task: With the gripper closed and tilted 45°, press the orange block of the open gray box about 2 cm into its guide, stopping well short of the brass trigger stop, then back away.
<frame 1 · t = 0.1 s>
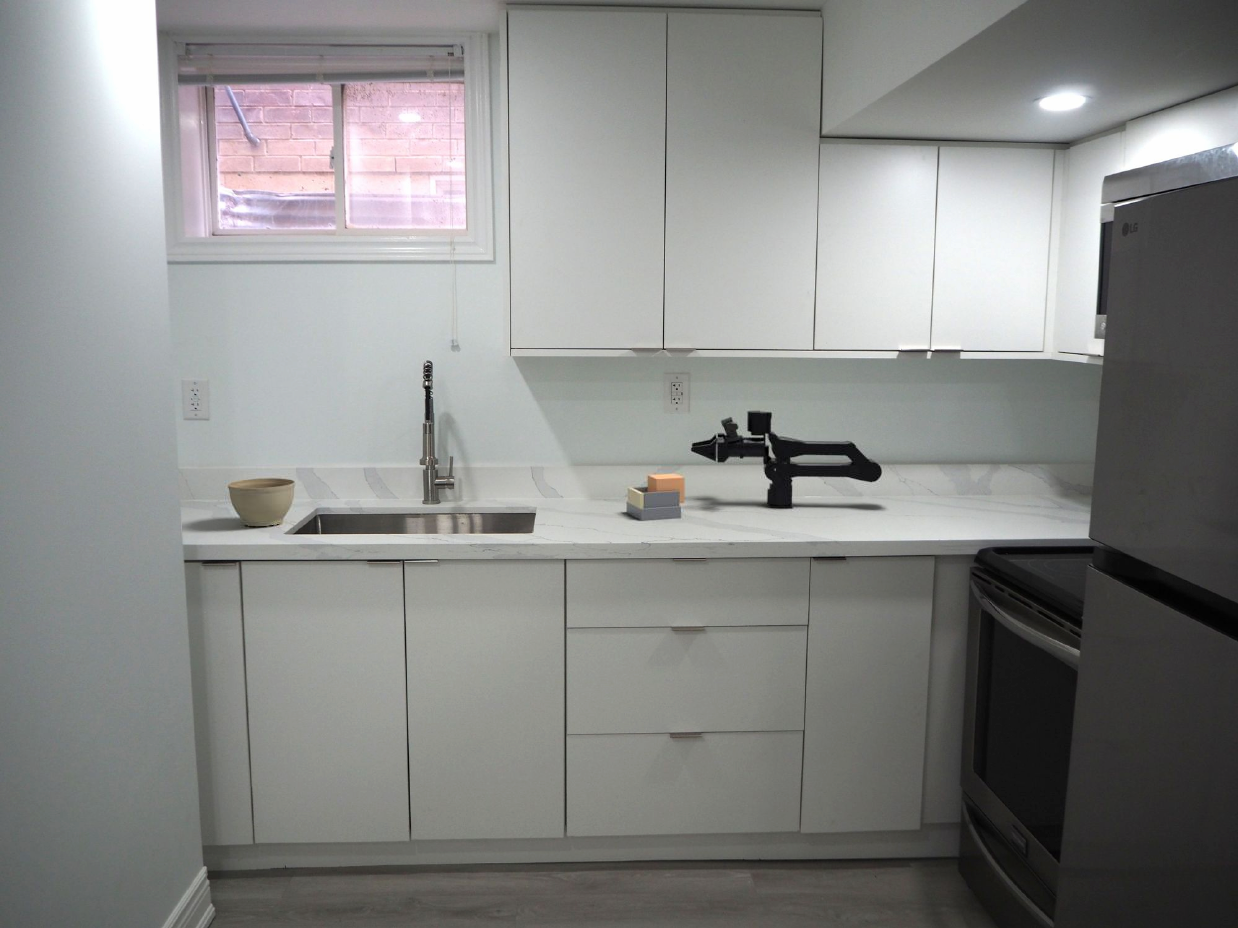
hand: (691, 447, 264), 17 cm above the countertop, tool horizontal, fingers open, 9 cm apart
open gray box: (655, 514, 252), on the countertop
orange block: (665, 489, 252), point 7 cm above the countertop, slide at 0.0 cm
planter bowl: (264, 524, 241), on the countertop
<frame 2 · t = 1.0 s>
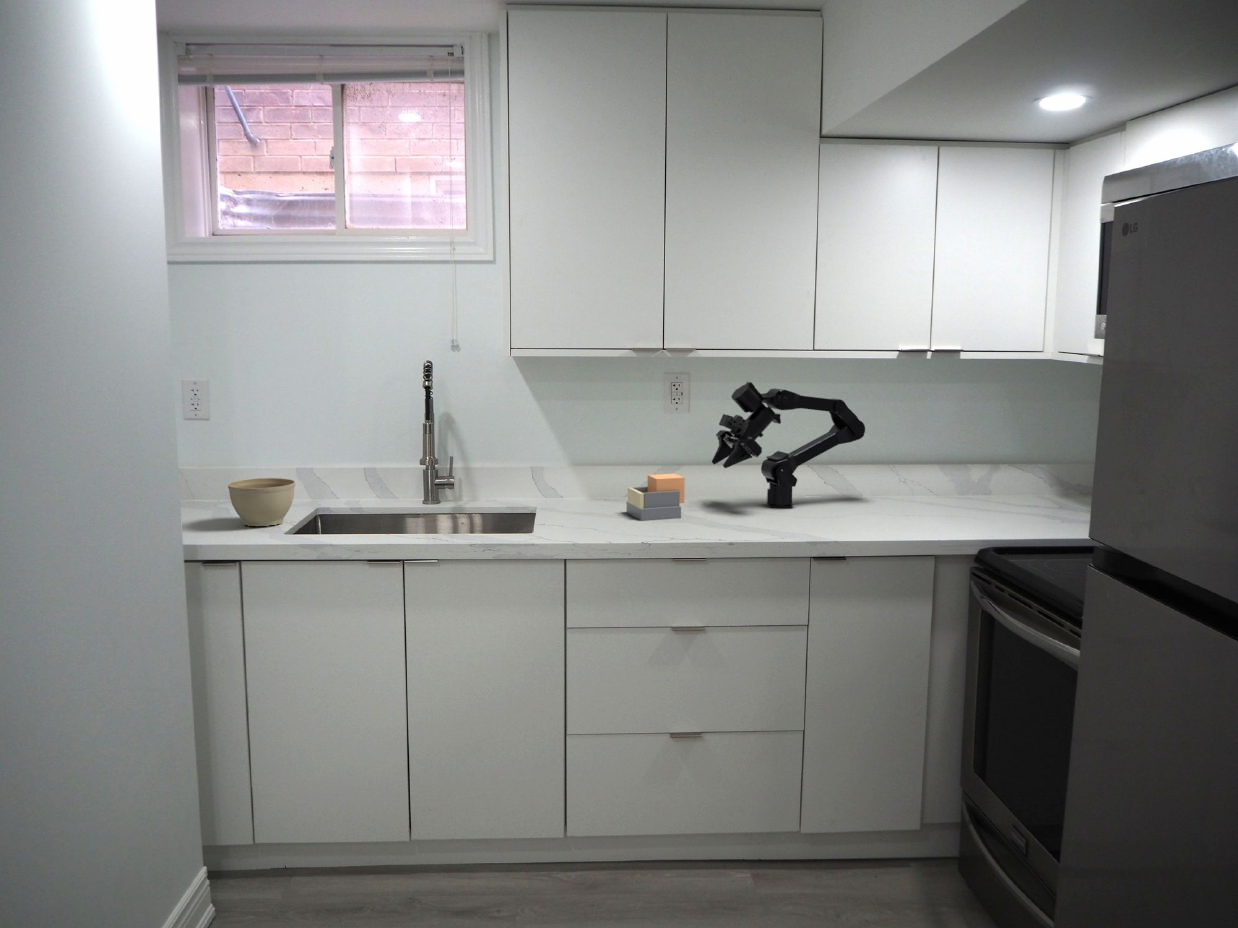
hand: (718, 465, 256), 13 cm above the countertop, tool tilted 45°, fingers open, 7 cm apart
nothing on the countertop moved.
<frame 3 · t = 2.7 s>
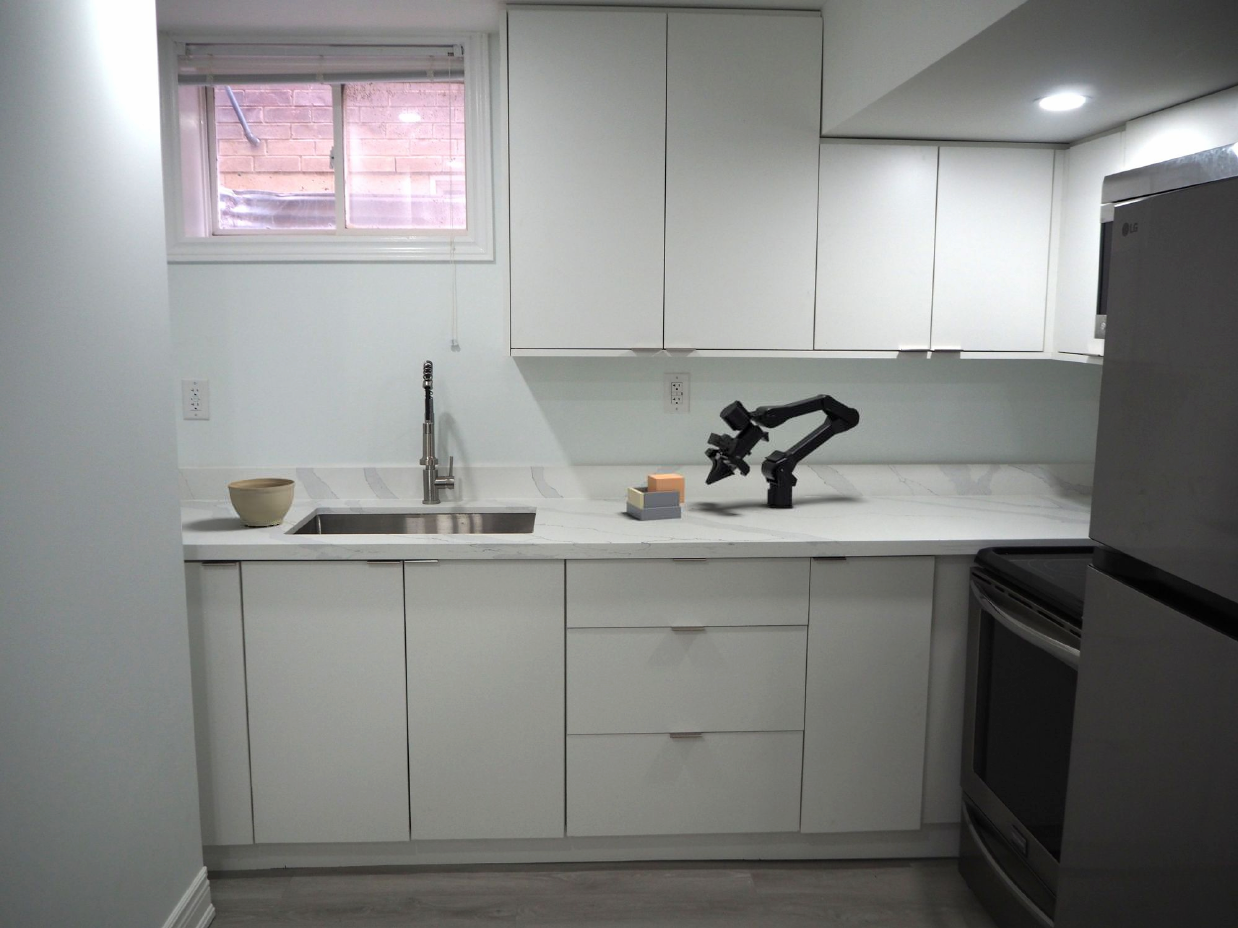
hand: (706, 483, 256), 8 cm above the countertop, tool tilted 45°, fingers closed
nothing on the countertop moved.
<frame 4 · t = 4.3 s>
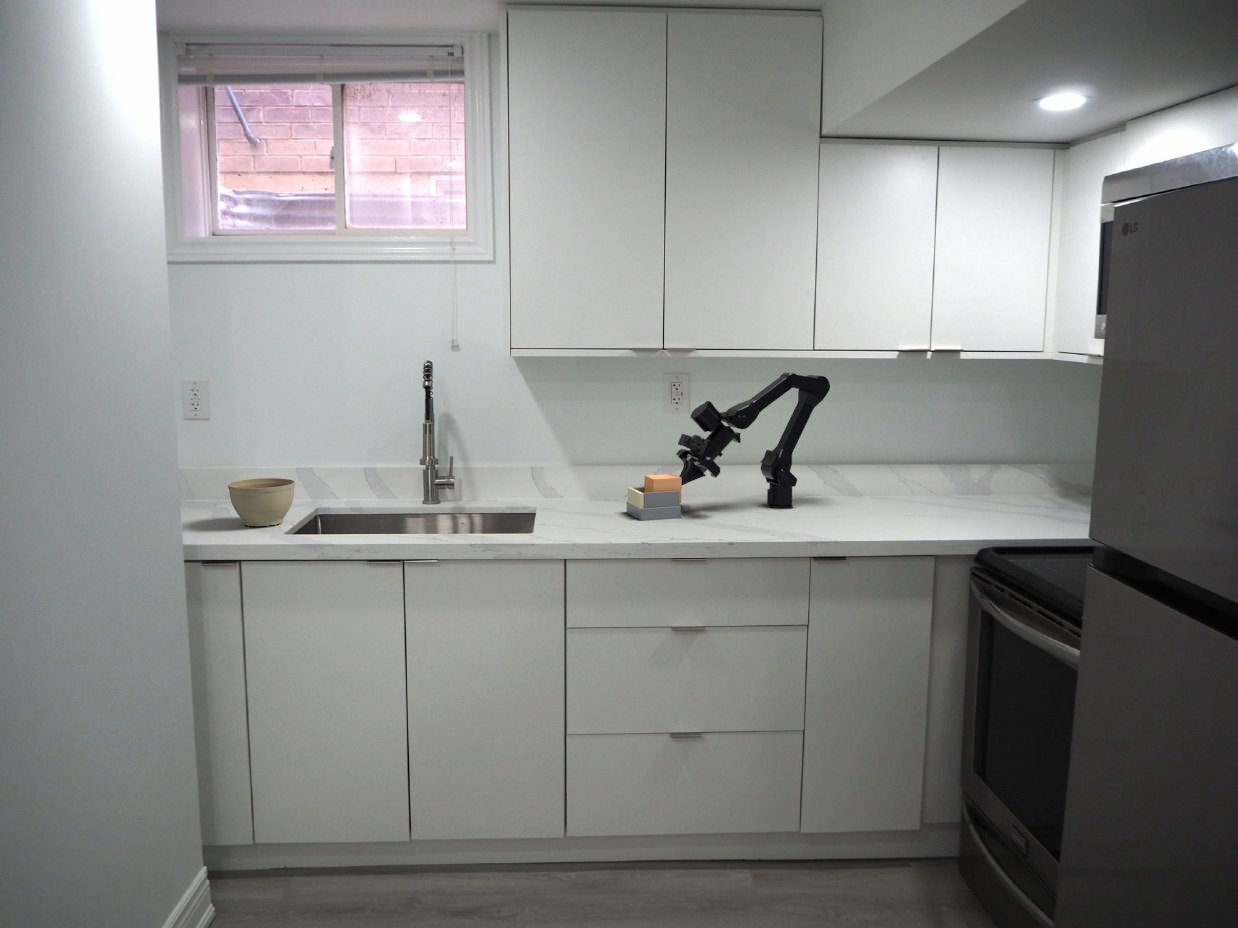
hand: (677, 485, 253), 8 cm above the countertop, tool tilted 45°, fingers closed, pressing on orange block
orange block: (662, 489, 252), point 7 cm above the countertop, slide at 0.9 cm, touching gripper
everything else where it was.
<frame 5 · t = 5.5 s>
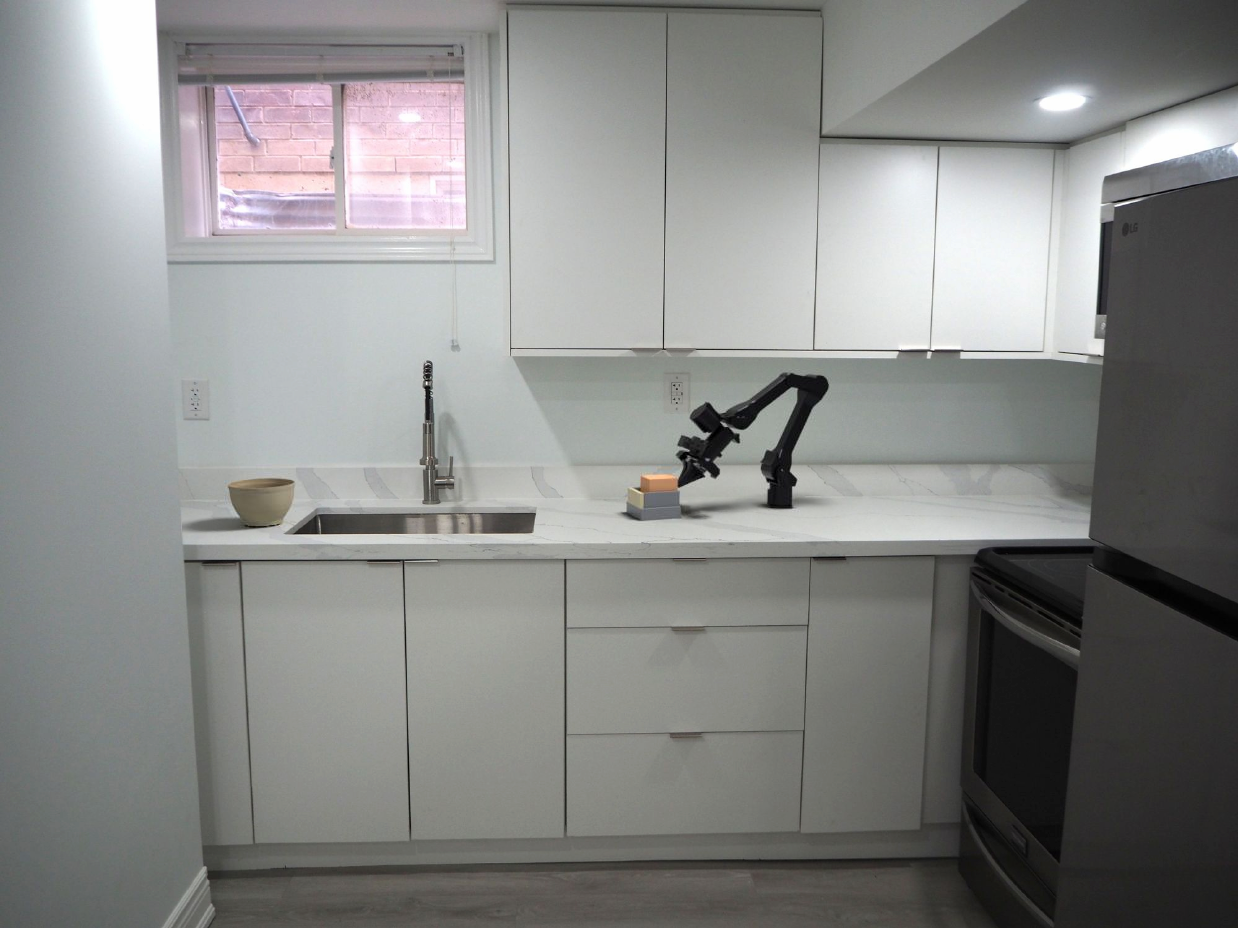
hand: (677, 486, 253), 7 cm above the countertop, tool tilted 45°, fingers closed
orange block: (658, 489, 251), point 7 cm above the countertop, slide at 2.0 cm
everything else where it was.
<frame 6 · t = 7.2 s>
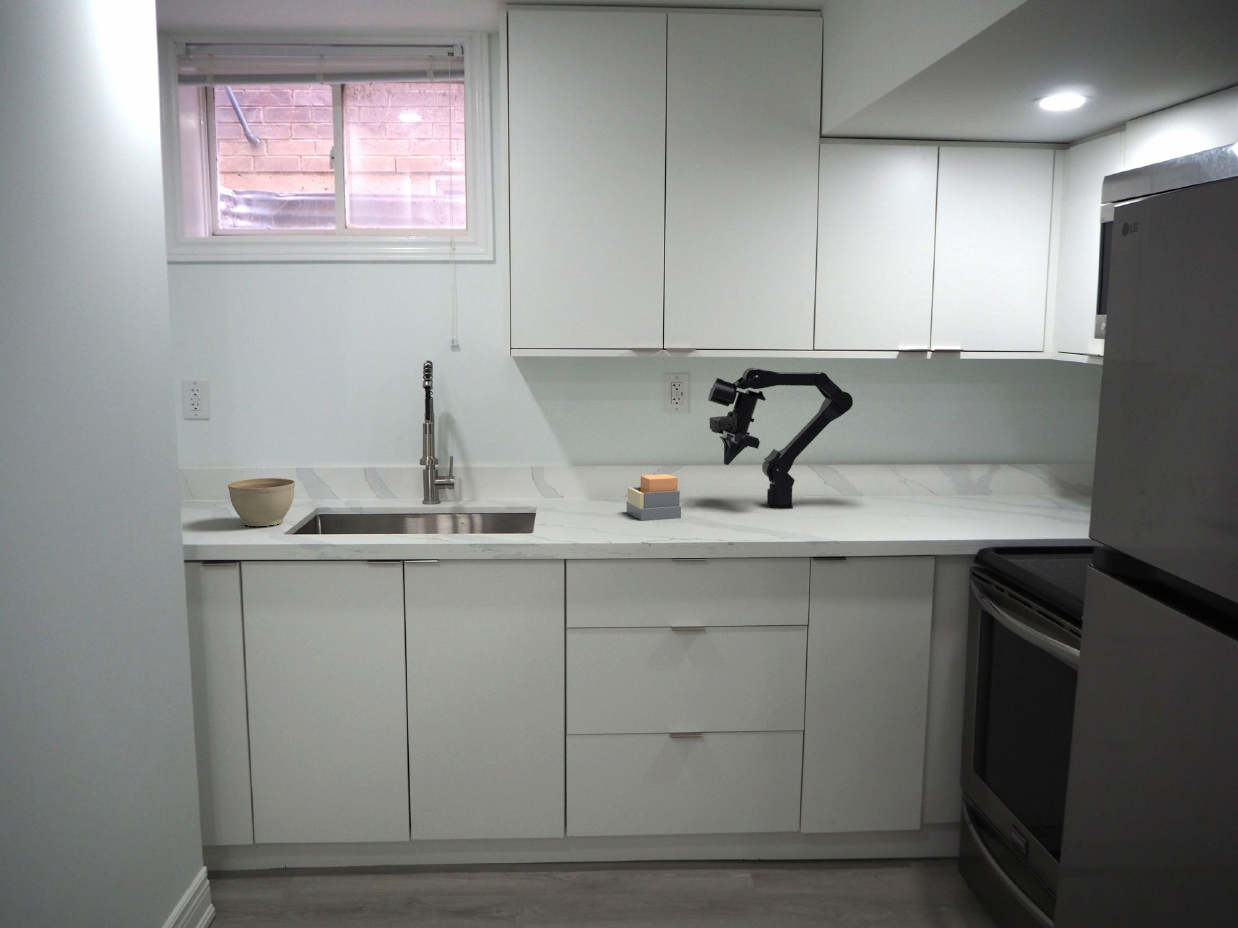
hand: (725, 464, 261), 12 cm above the countertop, tool tilted 15°, fingers closed
nothing on the countertop moved.
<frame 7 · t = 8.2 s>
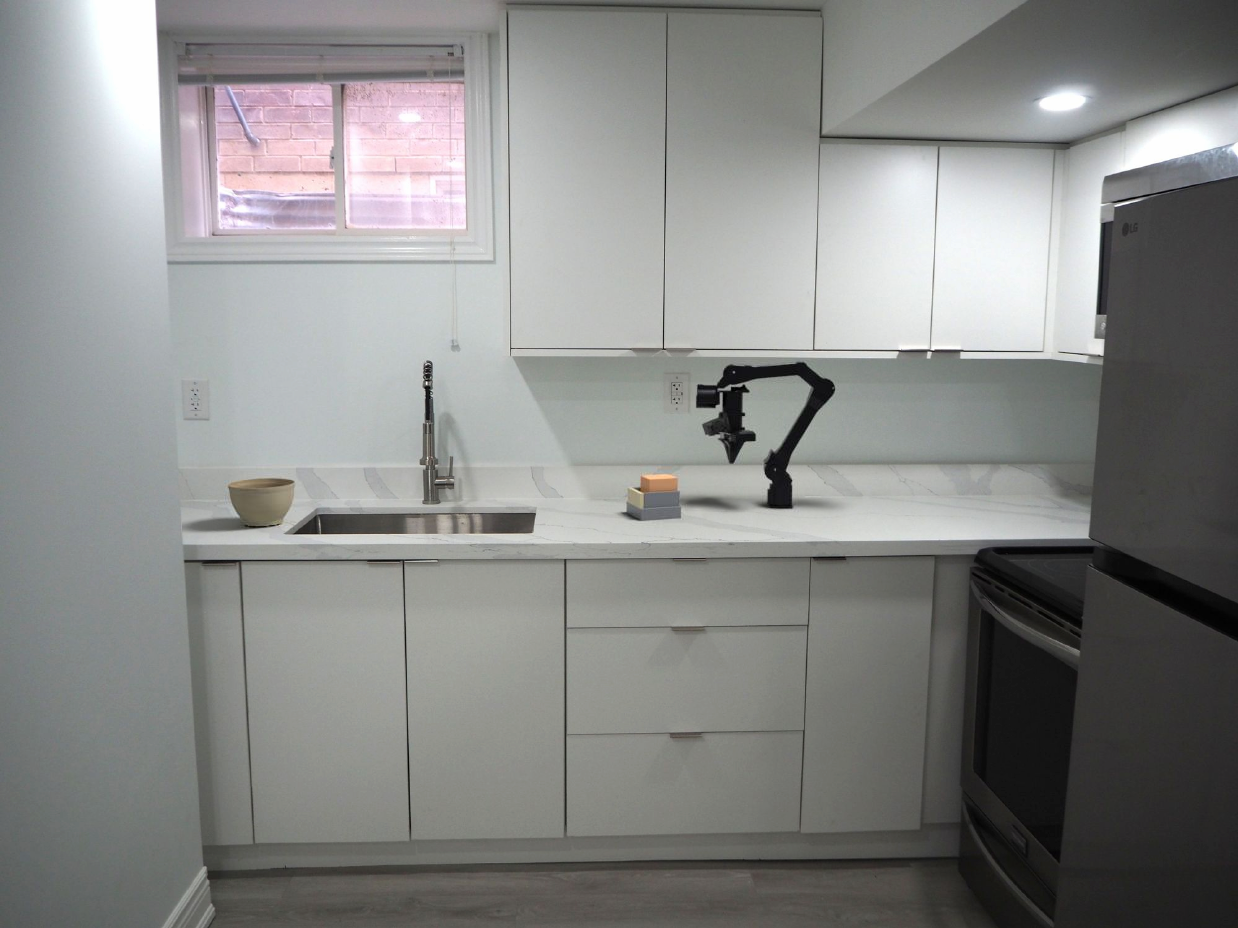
hand: (731, 463, 264), 12 cm above the countertop, tool pointing down, fingers closed
nothing on the countertop moved.
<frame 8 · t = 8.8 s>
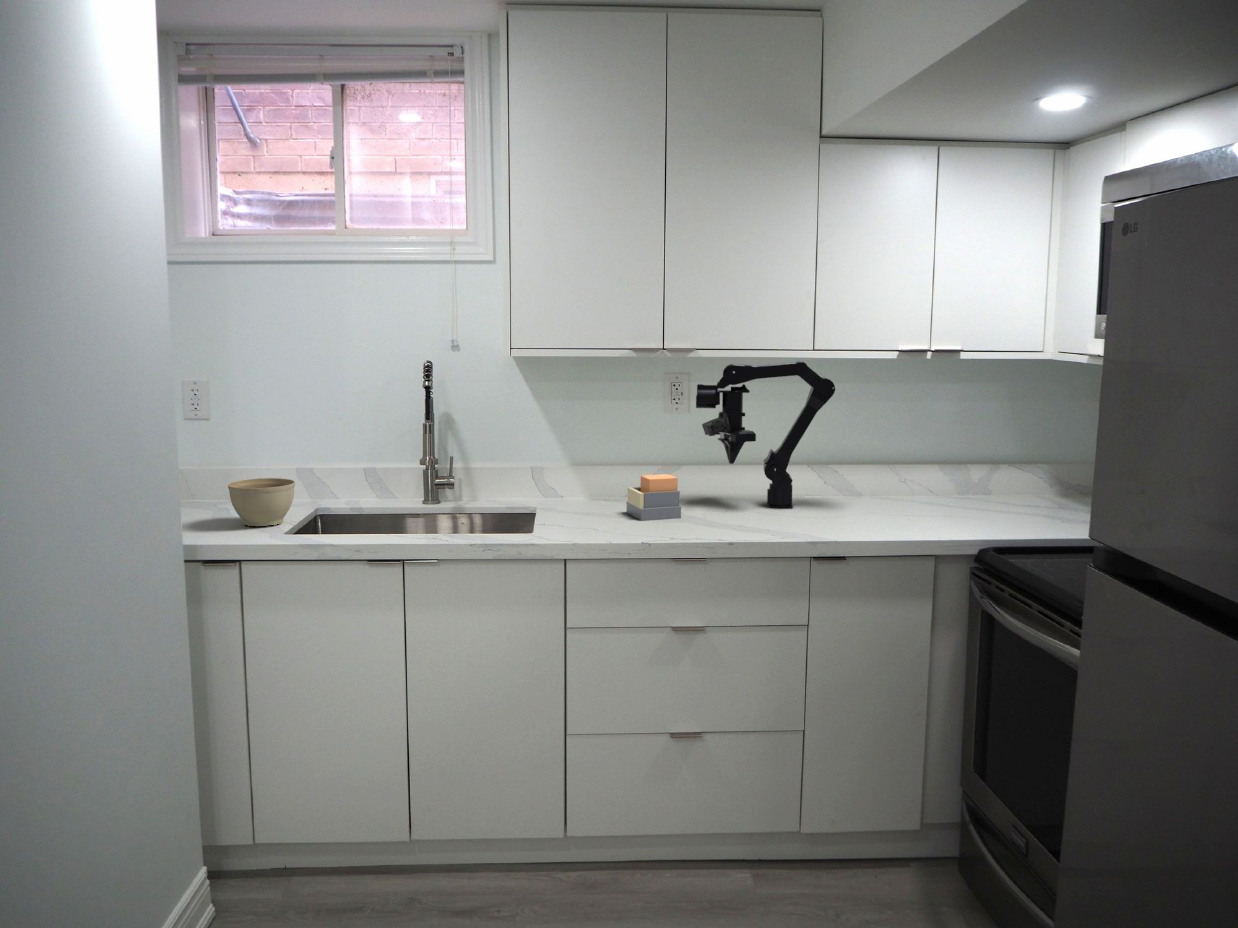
hand: (731, 463, 264), 12 cm above the countertop, tool pointing down, fingers closed
nothing on the countertop moved.
at the end: orange block slide at 2.0 cm; the gripper is holding nothing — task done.
